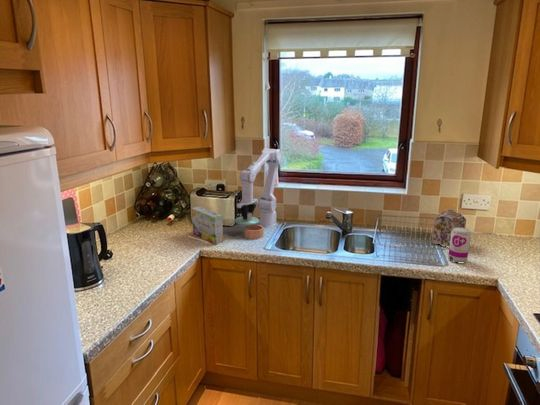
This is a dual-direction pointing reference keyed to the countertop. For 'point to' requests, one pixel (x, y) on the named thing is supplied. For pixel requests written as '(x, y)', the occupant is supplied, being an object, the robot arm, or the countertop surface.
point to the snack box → (207, 225)
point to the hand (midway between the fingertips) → (247, 218)
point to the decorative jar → (446, 226)
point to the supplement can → (459, 245)
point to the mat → (233, 230)
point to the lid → (247, 220)
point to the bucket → (254, 231)
